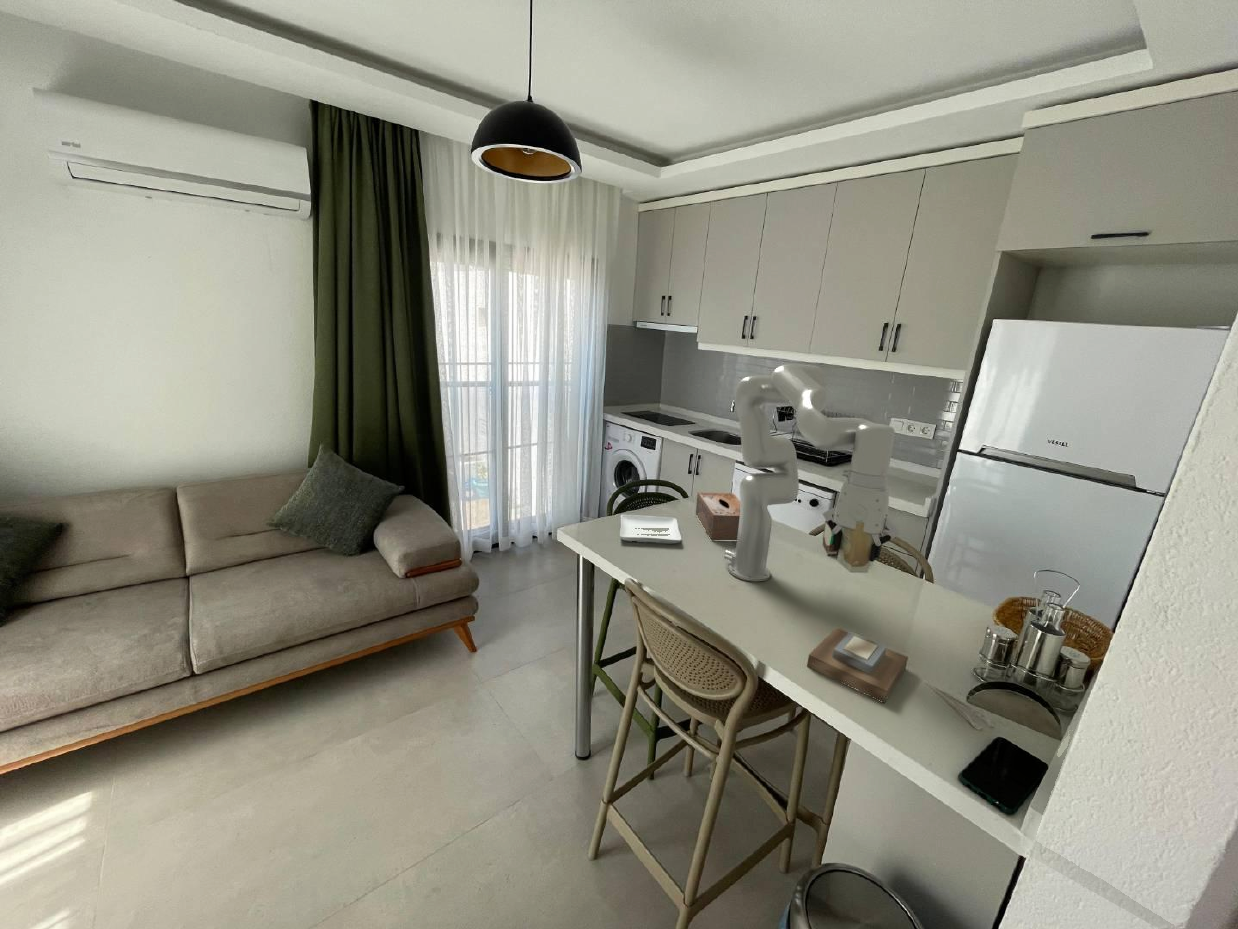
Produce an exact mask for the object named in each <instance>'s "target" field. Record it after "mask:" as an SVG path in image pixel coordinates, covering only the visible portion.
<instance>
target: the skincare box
mask: <svg viewBox="0 0 1238 929" xmlns="http://www.w3.org/2000/svg"><path fill="white" fill-rule="evenodd" d="M856 522H857V523H856V528H855V530H852V529H849V528H845V527H843V532H842V537H841V543H840V549H839V554H838V555H837V562H838V564H840V565H841V566H842V567H844V568H845V569H846V570H847V571H848V572H849V573H852V574H853V573H857V574H858V573H859V574H863V573H864V574H866V573H869V568H870V564H871V561H869V559H870V554H871V548H872V545H873V544H874V539H873V537H872V534H868V533H864V532H863V529H864V524H865V523H864V522H859V521H856Z"/></svg>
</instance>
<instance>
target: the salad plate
mask: <svg viewBox="0 0 1238 929" xmlns="http://www.w3.org/2000/svg"><path fill="white" fill-rule="evenodd" d="M635 528H637V529H635ZM638 528H640V529H638ZM641 528H669V530H668V531H666V532H665V531H662V532H660V533H659V532H657V531H656V532H654V531H652V530H649V531H648V530H643V529H641ZM637 534H639V535H637ZM641 534H670V535H668V536H658V535H657V536H651V535H649V536H647V535H641ZM619 537H620V538H621V539H622V540H624V541H626V542H632V541H637V542H636V543H647V542H656V543H655V544H669V545H670V544H678V543H680V542H681V541H682V535H681V532H680V528H679V524H678V520H677V518H675V517H667V516H664V517H663V516H655V515H654V516H653V515H640V514H639V515H638V514H636V515H635V514H621V515H620V531H619Z"/></svg>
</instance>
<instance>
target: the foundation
mask: <svg viewBox="0 0 1238 929" xmlns="http://www.w3.org/2000/svg"><path fill="white" fill-rule="evenodd" d="M807 658H808V659H807V664H806V667H807V668H809V669H811V670H813V669H814V671H815V670H816V672H817V673H820V674H822V675H823V676H826V675H827V676H826V677H828V676H829V677H828V678H830V677H831V678H830V679H832V678H834V679H835V680H834V679H833V680H834V681H836V680H838V681H840V682H843V683H845V684H846V685H845V684H844V685H845V686H847V685H849V686H850V687H849V686H848V687H849V688H851V687H853V688H856V689H858V690H859V691H861V692H863V693H865V694H868V695H870V696H871V697H874V698H876V699H878V700H880V701H882V702H885V703H886V701H887V700H888V698H889V697H890V695H889V694H891V693H892V692H891V691H893V690H894V688H896V686H897V683H898V681H899V680H900V679H899V678H901V677H902V675H903V674H904V672H905V671H904V670H906V668H907V664H908V660H909V657H908V656H907V655H904V654H902V653H900V652H897V651H895V650H892V649H890V648H888V647H887V646H886V645H883V644H880V643H879V642H876V641H873V640H871V639H869V638H867V637H864V636H862V635H860V634H857V633H855V632H852V631H846V630H844V629H841V628H839V627H837V626H836V627H834V629H833V630H831V632H829V633H828V635H827V636H825V638H823V640H822V641H821V642H819V644H818V645H817V646H816V647H815V648H814V649H813V650H812V651H811V652H810V653H809V654H808V657H807ZM838 681H837V682H838ZM840 682H839V683H840ZM853 688H852V689H853ZM892 689H893V690H892ZM859 691H858V692H859ZM861 692H860V693H861ZM863 693H862V694H863ZM865 694H864V695H865ZM871 697H870V698H871ZM887 697H888V698H887ZM874 698H873V699H874ZM876 699H875V700H876ZM886 699H887V700H886ZM878 700H877V701H878ZM880 701H879V702H880ZM882 702H881V703H882Z"/></svg>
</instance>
